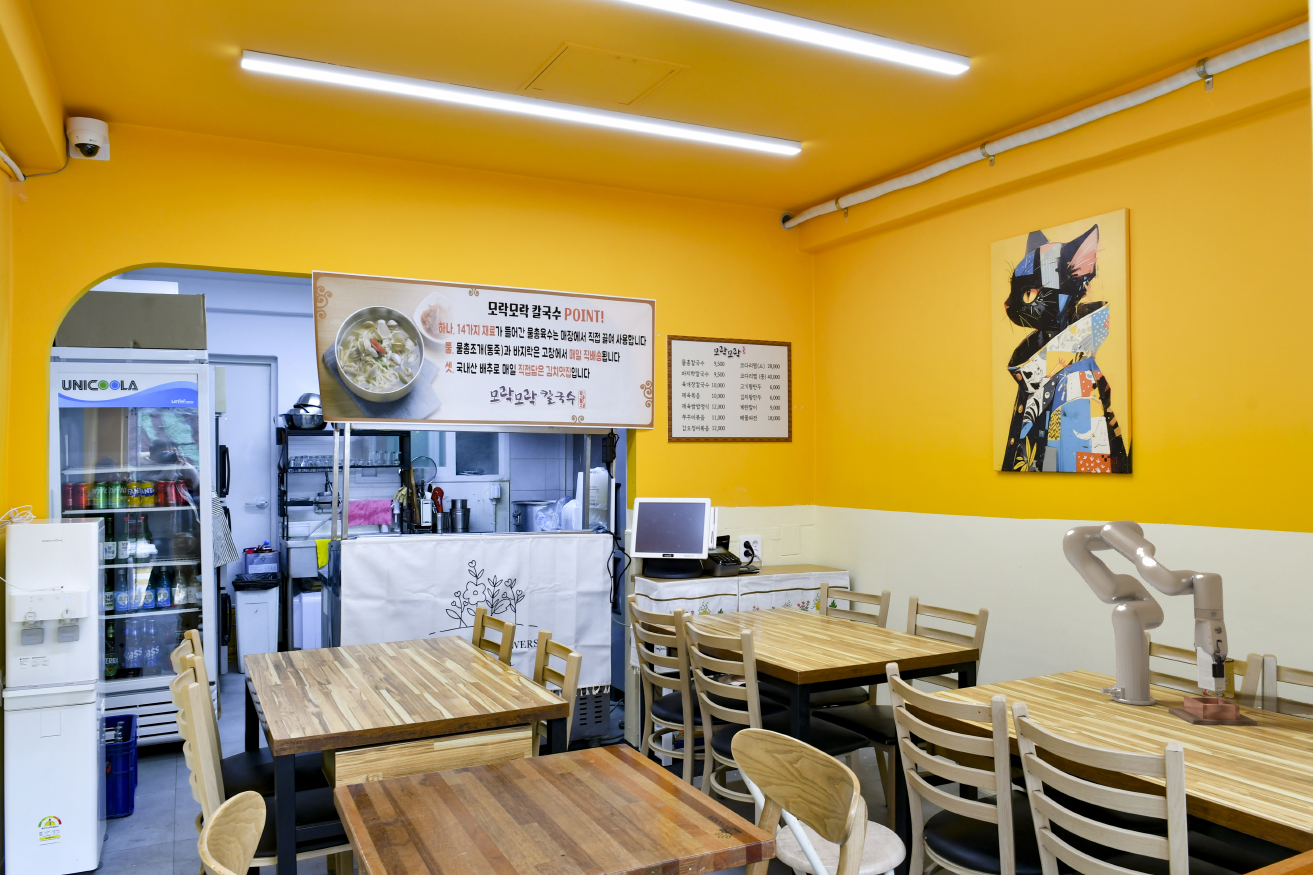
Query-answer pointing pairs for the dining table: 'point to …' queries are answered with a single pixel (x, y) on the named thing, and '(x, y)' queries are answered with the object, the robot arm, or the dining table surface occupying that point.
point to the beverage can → (1228, 681)
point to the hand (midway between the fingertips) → (1211, 674)
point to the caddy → (1211, 712)
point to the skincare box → (1208, 672)
